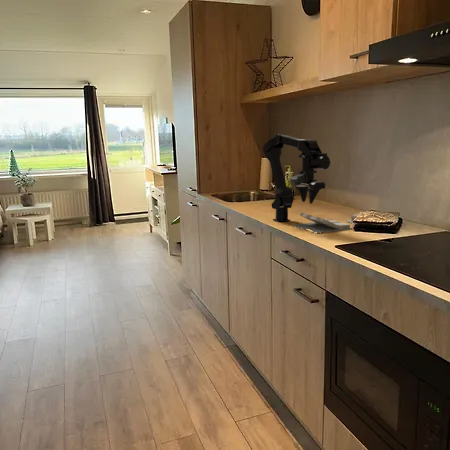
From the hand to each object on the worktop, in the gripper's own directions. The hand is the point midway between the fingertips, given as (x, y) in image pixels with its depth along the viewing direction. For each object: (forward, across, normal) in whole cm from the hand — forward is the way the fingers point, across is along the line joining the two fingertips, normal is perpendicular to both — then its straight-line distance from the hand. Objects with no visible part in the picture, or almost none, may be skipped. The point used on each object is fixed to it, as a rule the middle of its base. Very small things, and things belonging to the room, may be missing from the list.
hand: (307, 202), depth 190 cm
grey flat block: (+11, +5, +11) cm, 16 cm away
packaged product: (+12, +9, +27) cm, 31 cm away
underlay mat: (+11, +5, +5) cm, 13 cm away
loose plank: (+8, +5, +3) cm, 10 cm away
